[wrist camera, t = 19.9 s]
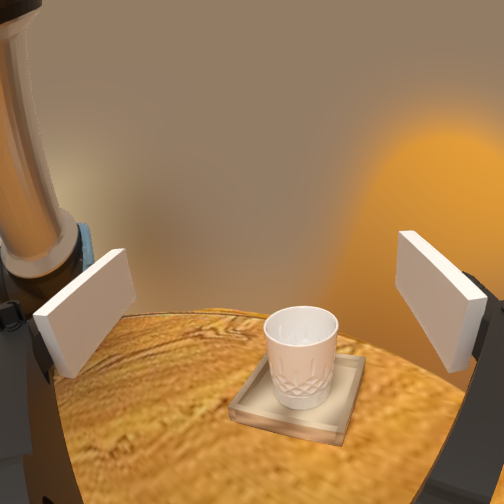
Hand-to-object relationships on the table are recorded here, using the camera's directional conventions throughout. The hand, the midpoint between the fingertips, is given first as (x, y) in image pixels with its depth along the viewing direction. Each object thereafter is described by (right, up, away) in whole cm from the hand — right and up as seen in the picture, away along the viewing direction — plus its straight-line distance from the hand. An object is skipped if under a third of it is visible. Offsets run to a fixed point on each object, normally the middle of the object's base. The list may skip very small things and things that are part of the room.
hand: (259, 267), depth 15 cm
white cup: (+6, -16, +22) cm, 28 cm away
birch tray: (+6, -17, +22) cm, 29 cm away
